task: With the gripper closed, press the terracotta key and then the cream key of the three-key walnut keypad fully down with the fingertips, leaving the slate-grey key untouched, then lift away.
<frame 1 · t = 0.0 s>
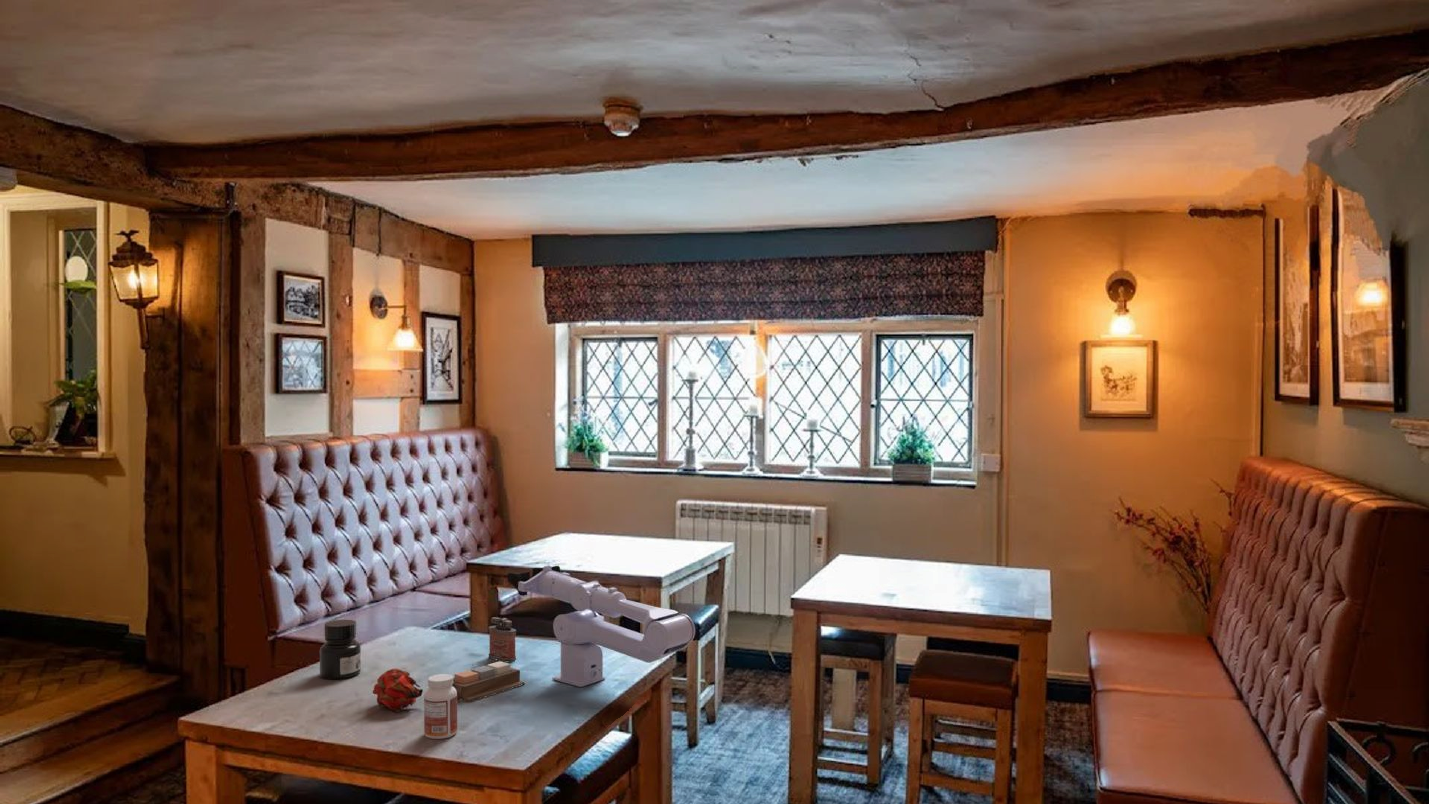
hand: (521, 574, 237), 22 cm above the table, tool horizontal, fingers open, 7 cm apart
lighter: (502, 659, 241), on the table
key terracotta: (466, 679, 214), point 3 cm above the table, slide at 0.0 cm
ink bottle: (340, 675, 228), on the table
key cream: (498, 669, 221), point 3 cm above the table, slide at 0.0 cm
key slate: (482, 674, 218), point 3 cm above the table, slide at 0.0 cm
pill bottle: (440, 735, 190), on the table
keypad board: (482, 688, 218), on the table
dragon fruit: (397, 708, 205), on the table
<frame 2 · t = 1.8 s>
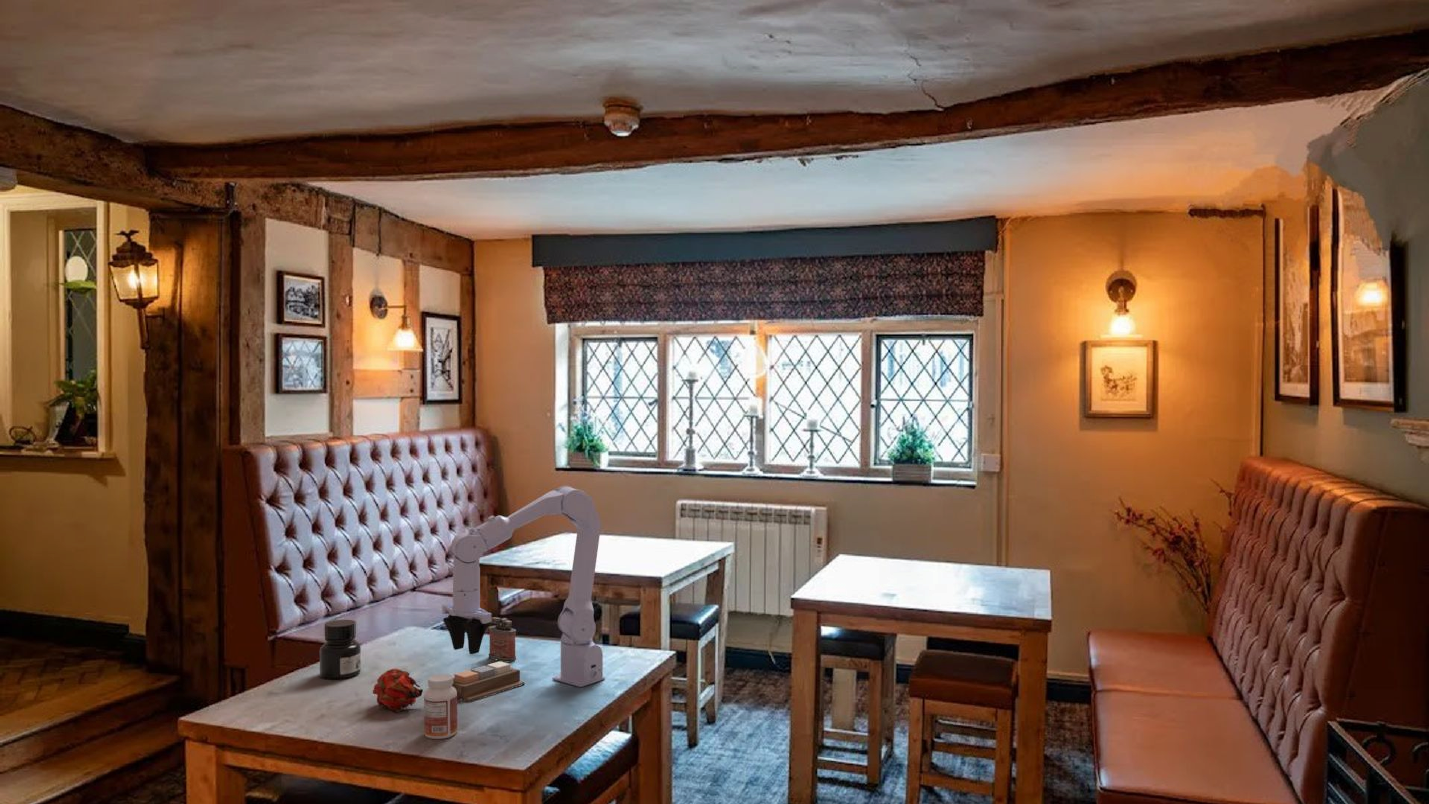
hand: (466, 651, 214), 9 cm above the table, tool pointing down, fingers open, 5 cm apart
nothing on the table moved.
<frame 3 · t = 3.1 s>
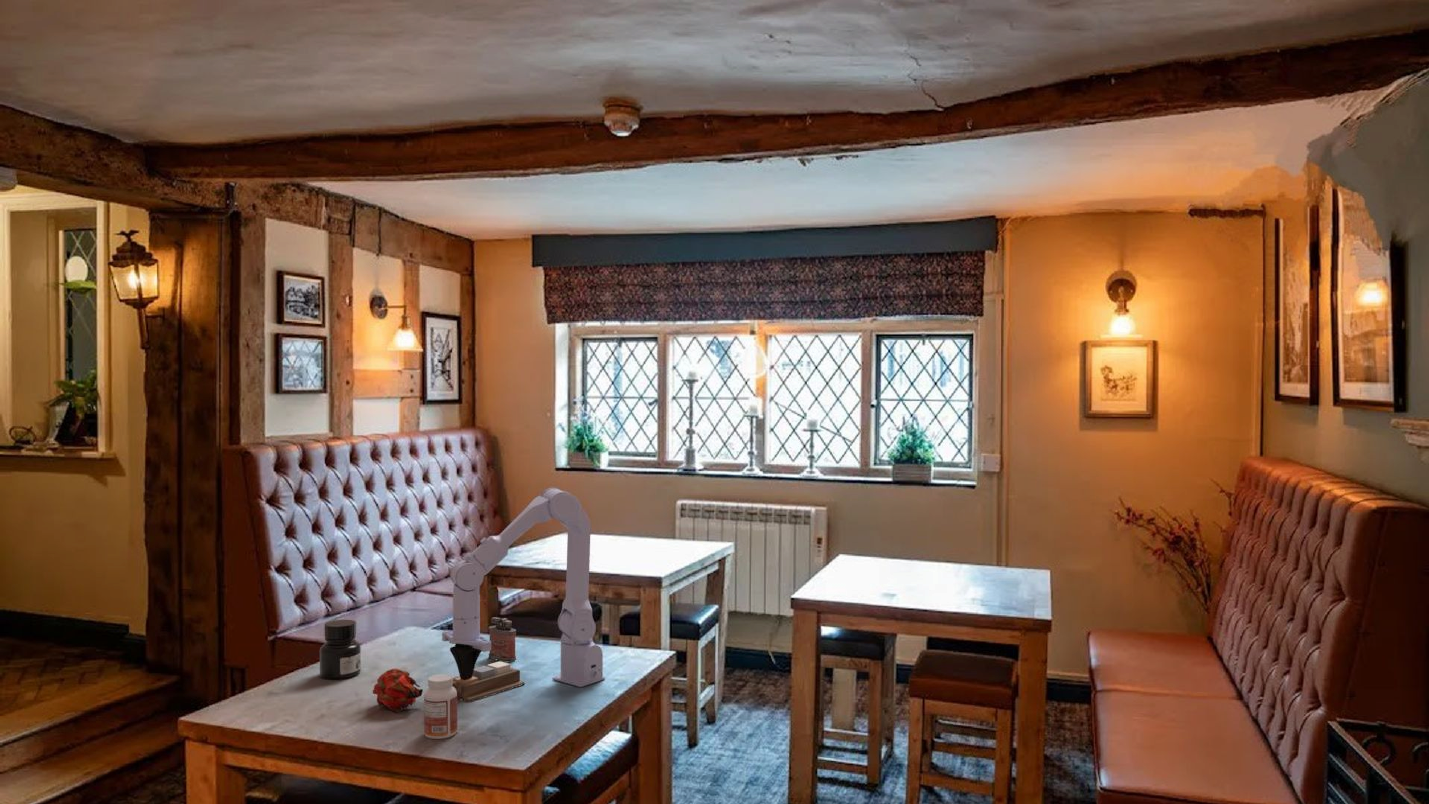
hand: (466, 678, 214), 3 cm above the table, tool pointing down, fingers closed, pressing on key terracotta
key terracotta: (466, 683, 214), point 2 cm above the table, slide at -1.0 cm, touching gripper
everything else where it was.
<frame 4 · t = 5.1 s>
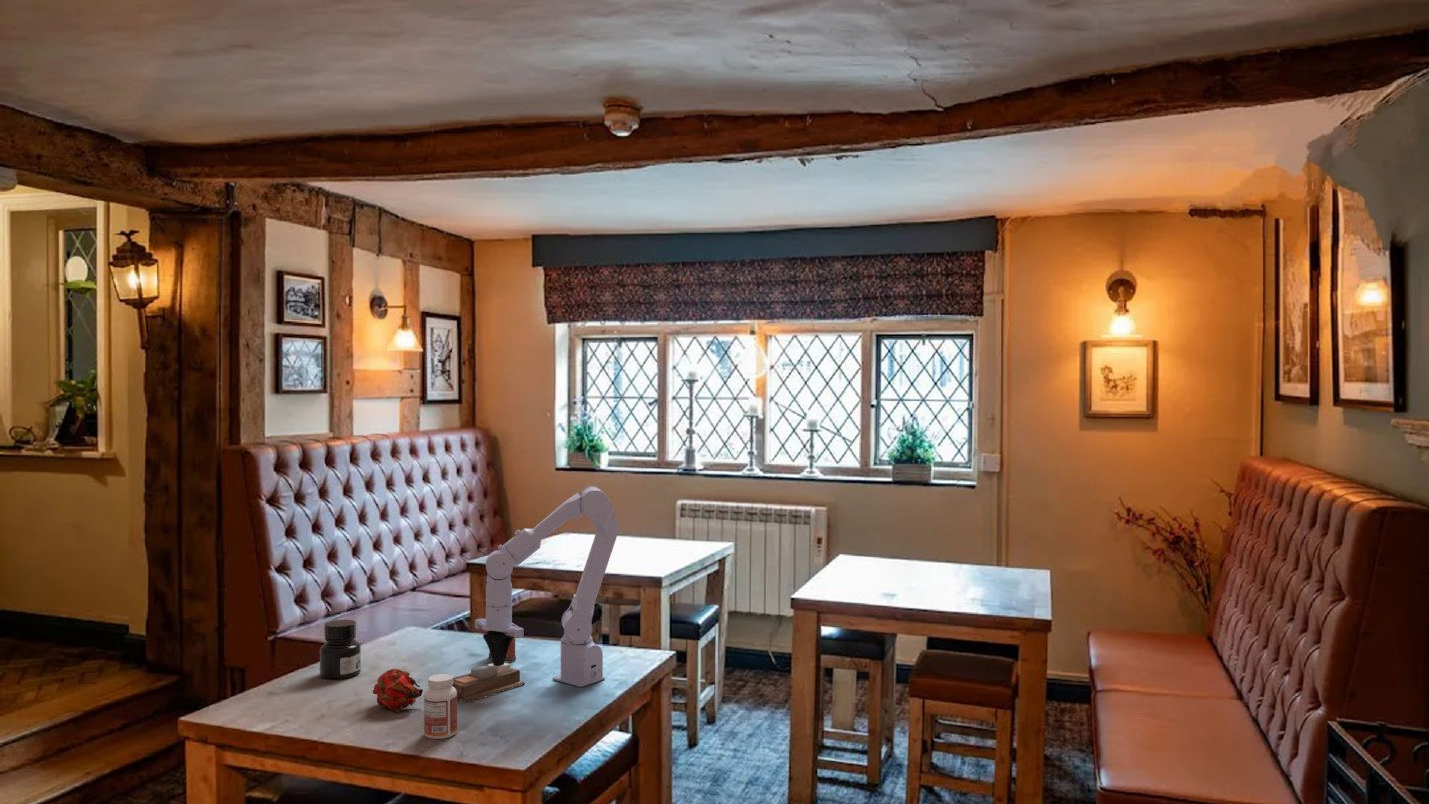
hand: (498, 664, 221), 4 cm above the table, tool pointing down, fingers closed, pressing on key cream
key terracotta: (466, 684, 214), point 2 cm above the table, slide at -1.2 cm
key cream: (498, 669, 221), point 3 cm above the table, slide at 0.0 cm, touching gripper
everything else where it was.
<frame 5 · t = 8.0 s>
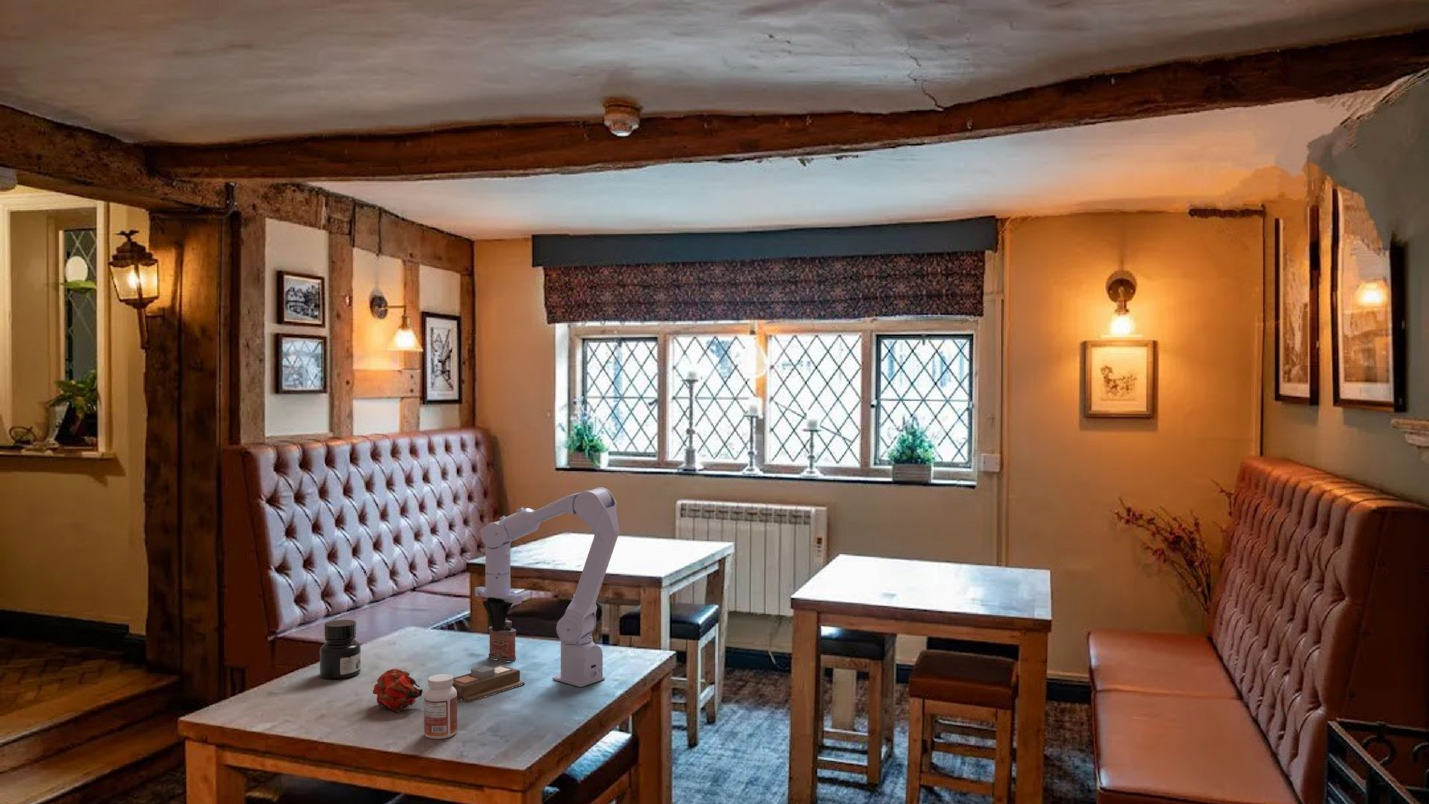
hand: (497, 630, 230), 10 cm above the table, tool pointing down, fingers closed
key cream: (498, 675, 221), point 2 cm above the table, slide at -1.2 cm
everything else where it was.
at the end: key terracotta slide at -1.2 cm; key cream slide at -1.2 cm; key slate slide at 0.0 cm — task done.
